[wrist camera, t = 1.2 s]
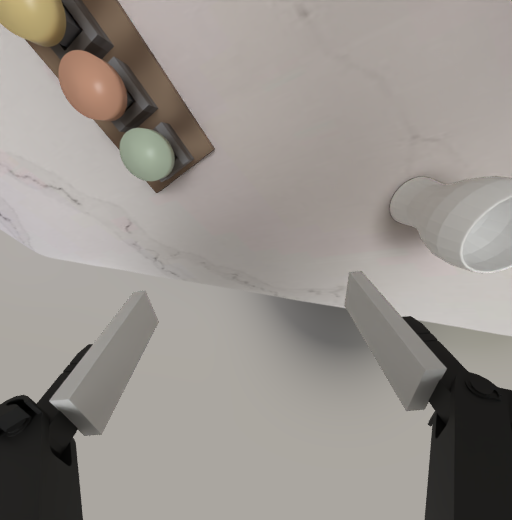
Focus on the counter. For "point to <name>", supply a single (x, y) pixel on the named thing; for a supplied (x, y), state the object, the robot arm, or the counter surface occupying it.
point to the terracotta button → (93, 86)
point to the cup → (460, 220)
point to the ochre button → (39, 21)
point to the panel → (133, 82)
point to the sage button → (147, 154)
